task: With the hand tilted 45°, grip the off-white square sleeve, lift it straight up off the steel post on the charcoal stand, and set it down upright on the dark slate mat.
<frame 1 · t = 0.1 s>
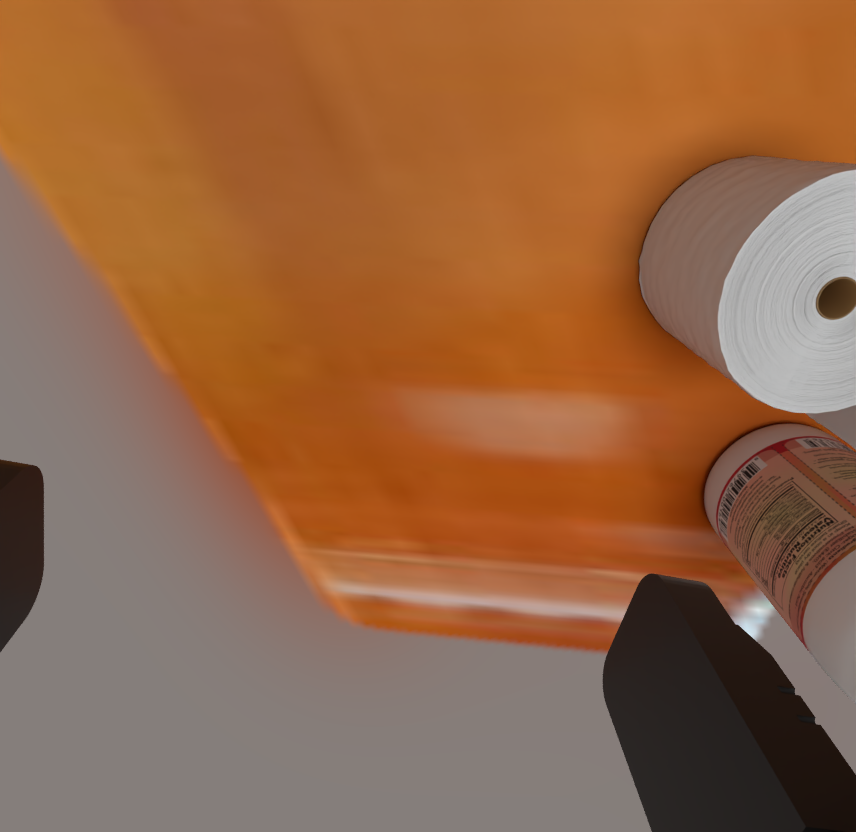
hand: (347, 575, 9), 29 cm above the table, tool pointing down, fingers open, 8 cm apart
toilet tissue: (738, 262, 37), on the table
fruit juice: (768, 482, 43), on the table
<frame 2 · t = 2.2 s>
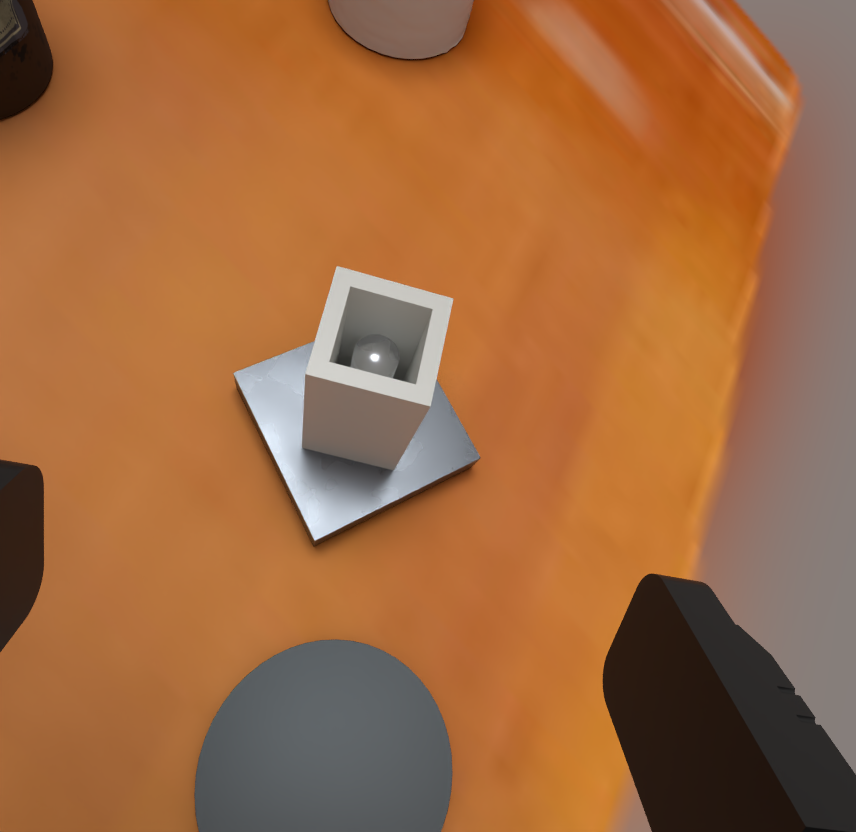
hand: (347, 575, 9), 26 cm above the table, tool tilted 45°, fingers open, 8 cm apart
toilet tissue: (396, 2, 49), on the table
post stand: (355, 427, 37), on the table
mat: (327, 771, 31), on the table
sleeve: (359, 416, 35), point 2 cm above the table, touching post stand
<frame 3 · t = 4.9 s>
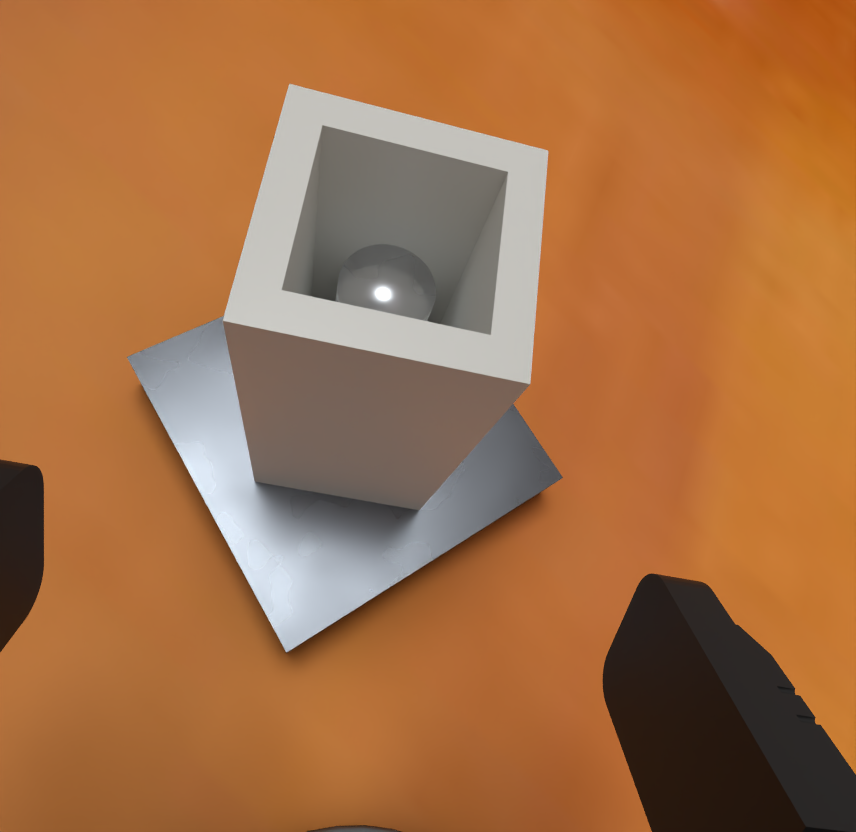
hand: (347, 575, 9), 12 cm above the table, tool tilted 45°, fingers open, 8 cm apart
post stand: (347, 439, 22), on the table
sleeve: (352, 419, 21), point 2 cm above the table, touching post stand
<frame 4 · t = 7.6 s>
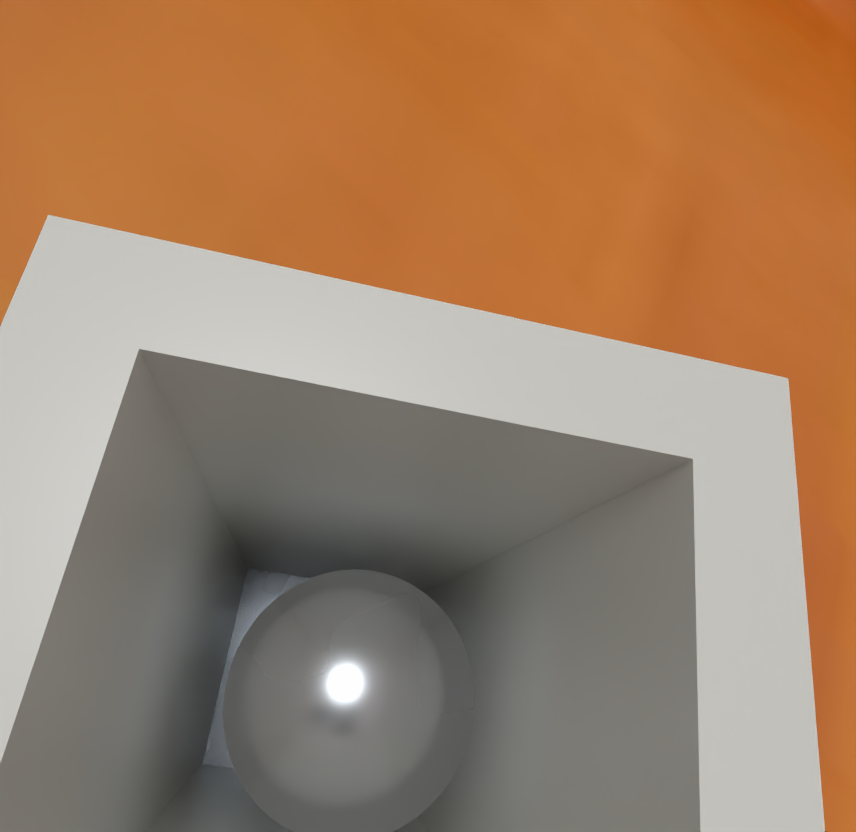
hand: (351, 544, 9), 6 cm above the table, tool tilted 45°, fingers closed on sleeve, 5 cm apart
post stand: (314, 672, 14), on the table
sleeve: (318, 673, 13), point 2 cm above the table, touching gripper, post stand
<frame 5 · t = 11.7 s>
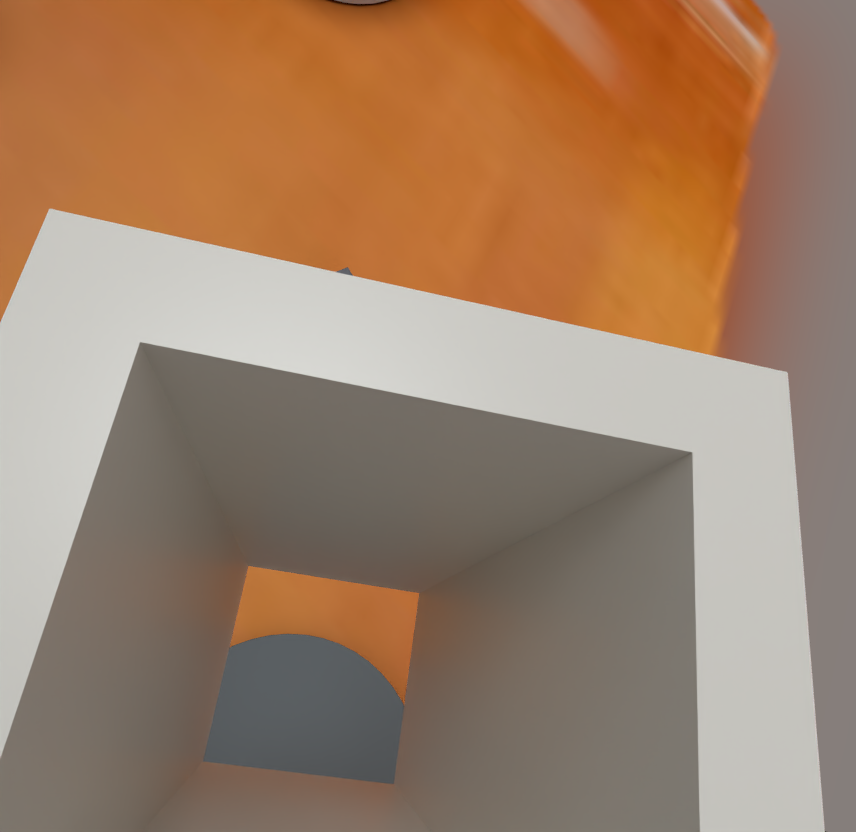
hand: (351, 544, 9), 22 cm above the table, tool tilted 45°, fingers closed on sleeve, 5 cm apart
mat: (280, 782, 28), on the table
sleeve: (318, 671, 13), point 18 cm above the table, touching gripper
when the fingers open (6 cm above the table, at t = 16.1 s): sleeve drops 2 cm, resting on mat.
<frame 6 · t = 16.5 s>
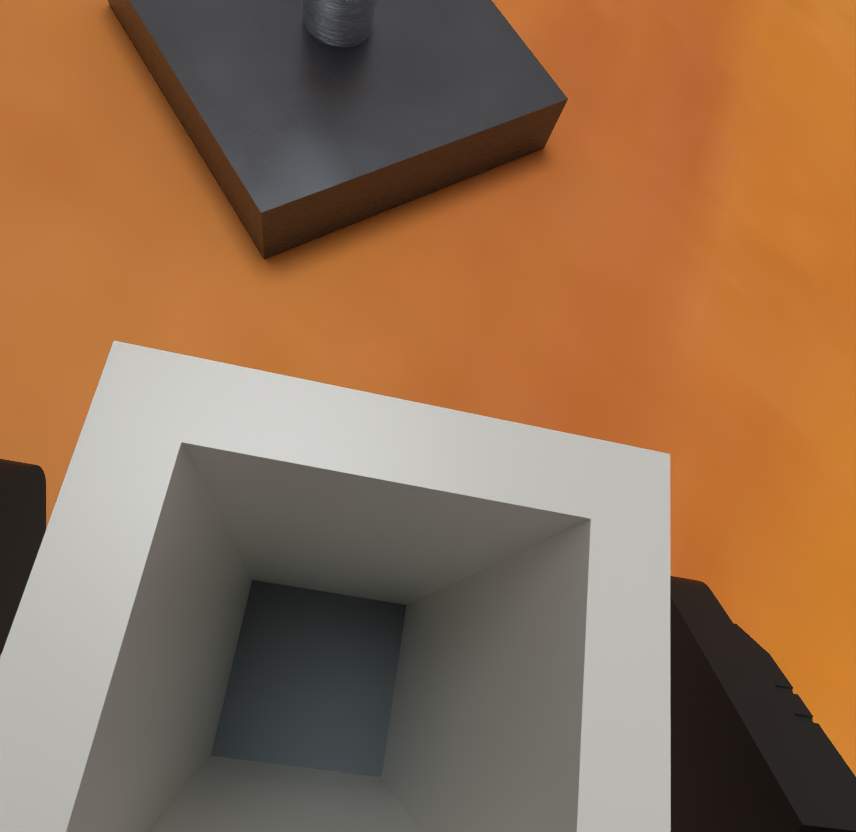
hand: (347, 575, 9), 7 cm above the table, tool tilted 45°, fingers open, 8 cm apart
post stand: (333, 77, 21), on the table
mat: (313, 672, 15), on the table
sleeve: (314, 675, 14), point 1 cm above the table, touching mat
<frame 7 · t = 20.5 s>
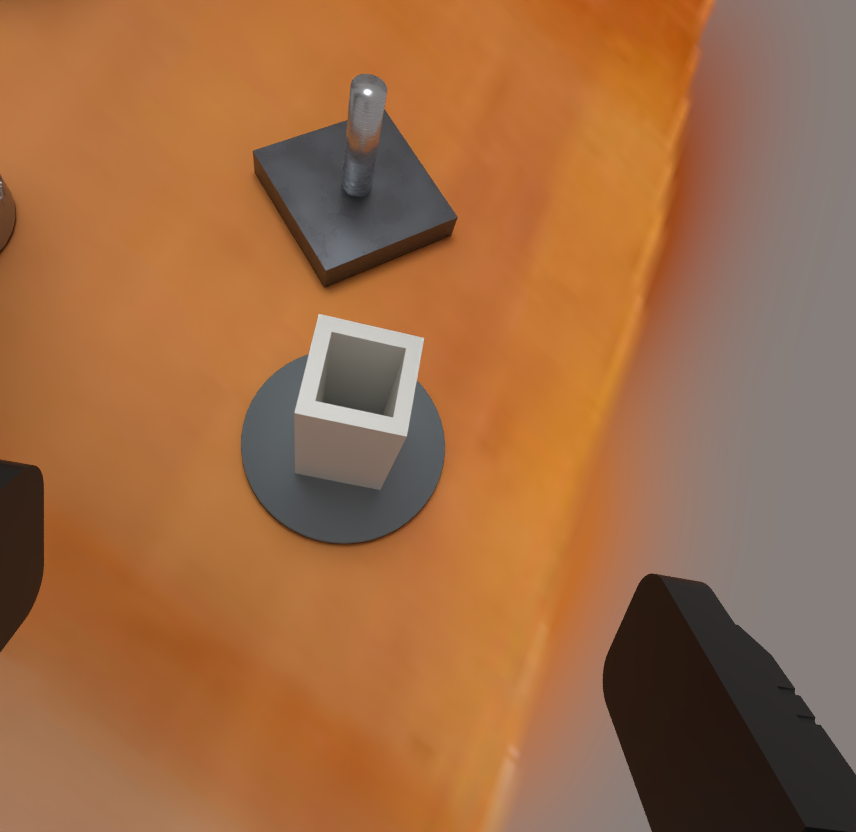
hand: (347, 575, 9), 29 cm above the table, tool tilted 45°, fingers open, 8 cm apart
post stand: (354, 203, 45), on the table
mat: (345, 443, 39), on the table
sleeve: (346, 441, 39), point 1 cm above the table, touching mat
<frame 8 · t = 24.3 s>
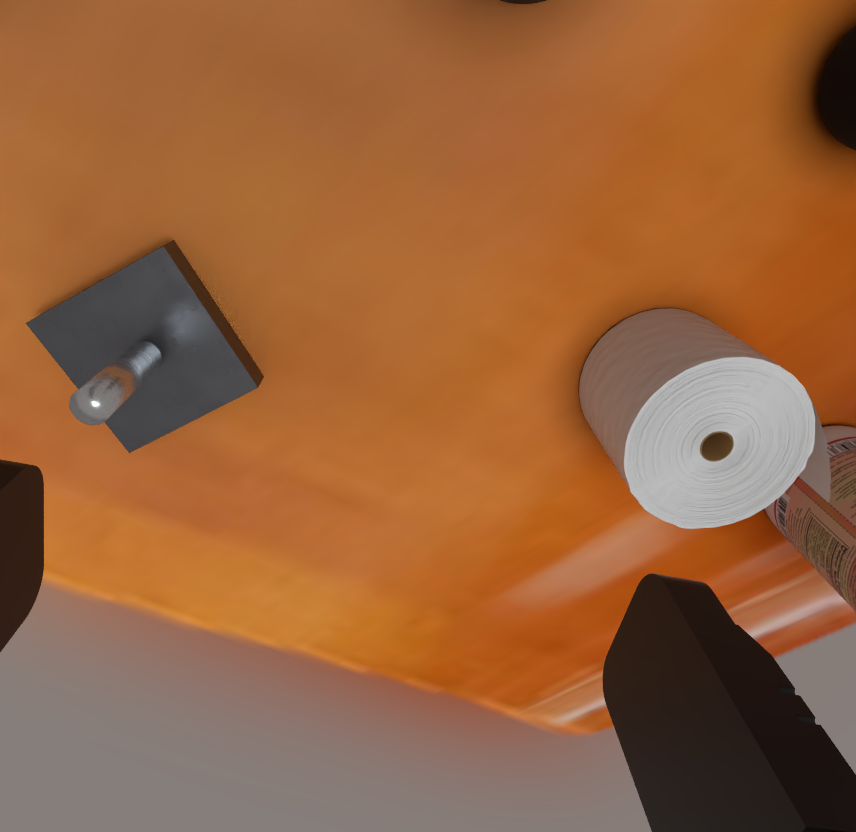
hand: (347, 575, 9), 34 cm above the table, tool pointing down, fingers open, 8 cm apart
toilet tissue: (662, 379, 45), on the table
post stand: (156, 346, 42), on the table
fruit juice: (817, 476, 49), on the table
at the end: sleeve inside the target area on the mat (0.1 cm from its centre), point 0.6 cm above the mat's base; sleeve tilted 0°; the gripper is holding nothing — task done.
